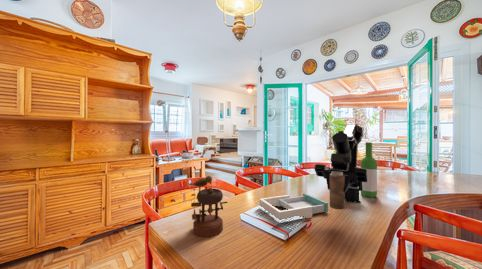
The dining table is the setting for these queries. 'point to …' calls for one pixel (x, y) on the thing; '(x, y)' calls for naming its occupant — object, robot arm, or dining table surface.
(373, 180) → the wine bottle
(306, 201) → the grey tray
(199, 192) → the music box
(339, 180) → the pepper mill
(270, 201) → the tray sleeve
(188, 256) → the dining table surface
